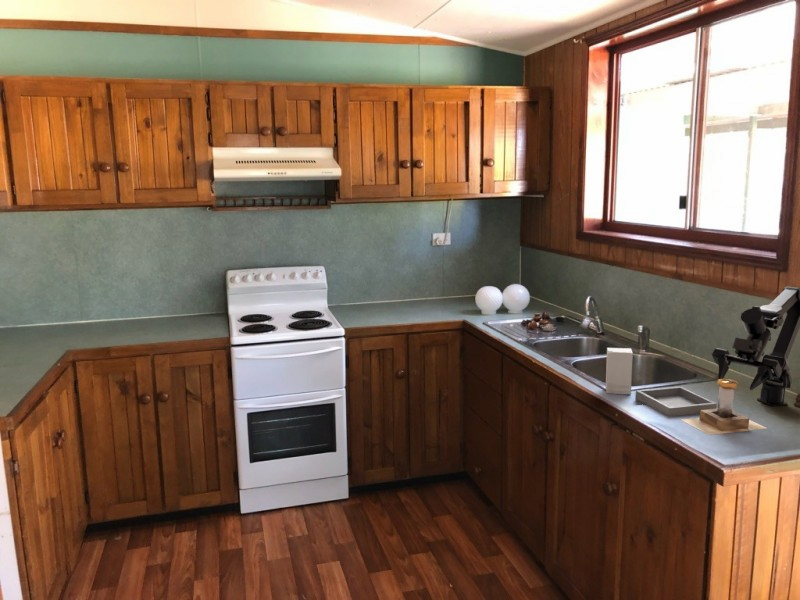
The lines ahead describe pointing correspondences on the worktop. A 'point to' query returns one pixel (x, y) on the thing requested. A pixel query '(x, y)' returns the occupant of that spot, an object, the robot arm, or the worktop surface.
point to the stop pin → (726, 397)
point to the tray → (674, 400)
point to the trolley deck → (714, 431)
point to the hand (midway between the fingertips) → (734, 385)
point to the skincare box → (619, 370)
